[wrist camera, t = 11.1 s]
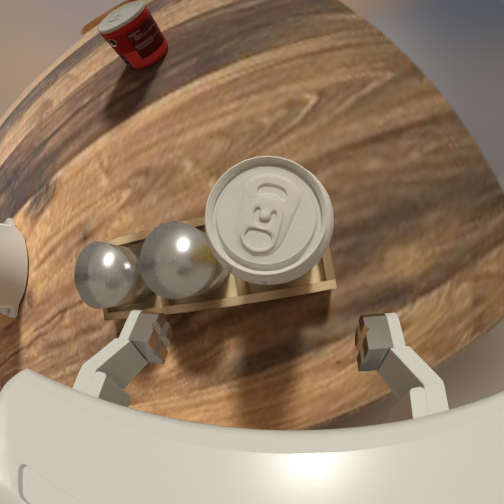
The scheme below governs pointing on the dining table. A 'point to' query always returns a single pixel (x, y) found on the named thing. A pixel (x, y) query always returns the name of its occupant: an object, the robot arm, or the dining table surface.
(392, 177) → the dining table surface
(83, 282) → the seated canisters
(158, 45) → the canned food
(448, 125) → the dining table surface
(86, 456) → the robot arm
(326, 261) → the compartment tray
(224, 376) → the dining table surface
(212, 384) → the dining table surface
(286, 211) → the beer can
